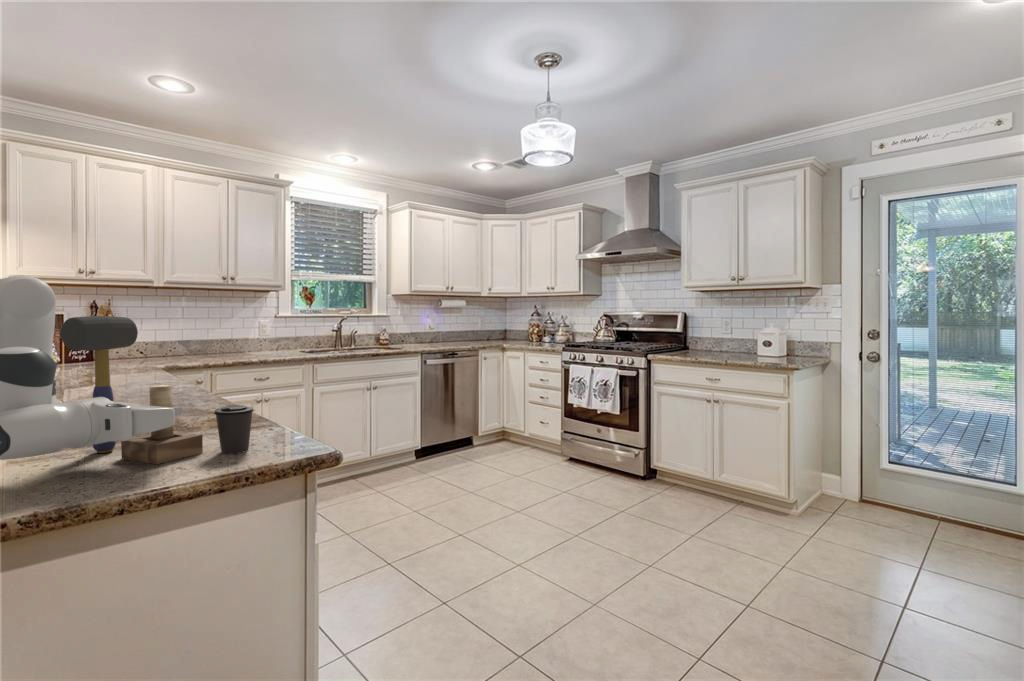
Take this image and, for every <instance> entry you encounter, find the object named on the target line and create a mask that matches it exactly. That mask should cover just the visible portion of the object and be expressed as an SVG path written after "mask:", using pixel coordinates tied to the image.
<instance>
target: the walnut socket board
mask: <svg viewBox="0 0 1024 681" xmlns="http://www.w3.org/2000/svg"><path fill="white" fill-rule="evenodd" d="M173 434H174V437H172V438H171V439H167V440H162V441H153V440H152V439H150V437H151V433H147V434H142V435H137V436H132V439H131V440H127V441H120V443H121V444H120V446H121V447H120V448H121V449H120V450H121V459H122V460H127V461H132V460H133V461H132V462H138V461H139V463H144V462H145V464H150V463H152V464H151V465H156V464H158V465H161V463H162V464H165V463H169V462H172V461H171V460H173V461H175V459H177V460H179V458H180V459H184V458H187V457H191V456H195V455H199V454H203V452H204V451H203V448H204V447H203V434H200V433H192V432H186V431H185V432H184V431H176V430H173ZM183 457H184V458H183ZM168 461H169V462H168ZM164 462H165V463H164Z"/></svg>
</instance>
